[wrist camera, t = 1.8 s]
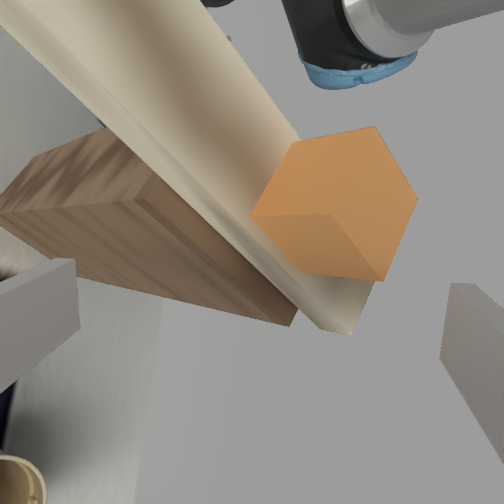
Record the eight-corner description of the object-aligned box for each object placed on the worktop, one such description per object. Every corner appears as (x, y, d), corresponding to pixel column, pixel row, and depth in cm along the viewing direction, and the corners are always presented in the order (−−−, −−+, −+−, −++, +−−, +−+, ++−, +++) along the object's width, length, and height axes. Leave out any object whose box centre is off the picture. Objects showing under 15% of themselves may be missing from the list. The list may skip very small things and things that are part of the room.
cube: (292, 142, 18) (374, 126, 15) (337, 202, 21) (417, 198, 18) (248, 216, 17) (330, 214, 14) (302, 273, 19) (383, 281, 16)
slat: (40, -142, 13) (63, -187, 12) (355, 253, 25) (385, 254, 24) (-78, -50, 12) (-69, -90, 10) (320, 329, 23) (351, 336, 22)
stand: (34, 157, 41) (232, 74, 19) (114, 222, 47) (342, 218, 25) (-17, 214, 39) (144, 198, 16) (75, 276, 44) (289, 326, 22)
